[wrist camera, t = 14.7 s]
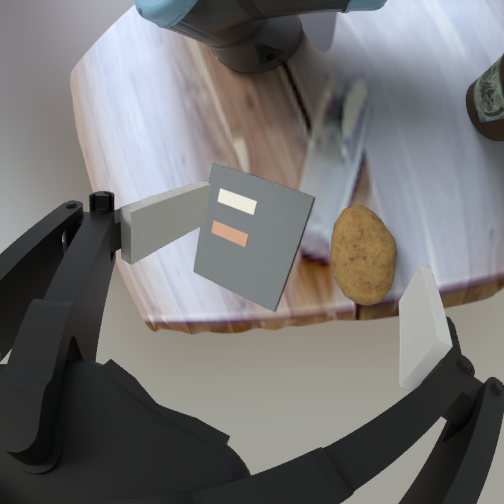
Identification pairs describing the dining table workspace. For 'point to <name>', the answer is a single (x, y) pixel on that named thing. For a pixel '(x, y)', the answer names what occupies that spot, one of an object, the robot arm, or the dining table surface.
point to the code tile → (250, 234)
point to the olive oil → (488, 102)
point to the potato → (362, 255)
